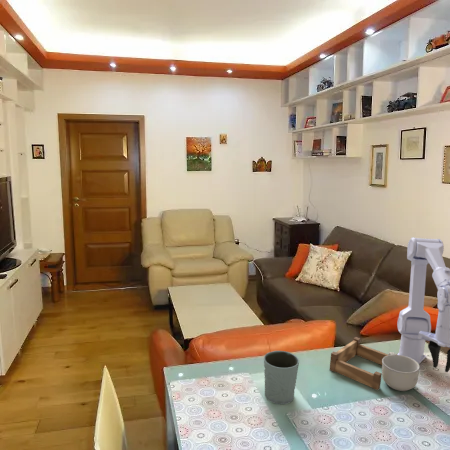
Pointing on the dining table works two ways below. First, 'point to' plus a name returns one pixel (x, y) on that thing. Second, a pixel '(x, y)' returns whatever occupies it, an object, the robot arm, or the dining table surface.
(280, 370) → the grey tumbler
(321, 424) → the dining table surface
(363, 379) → the wooden frame
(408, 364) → the teacup
